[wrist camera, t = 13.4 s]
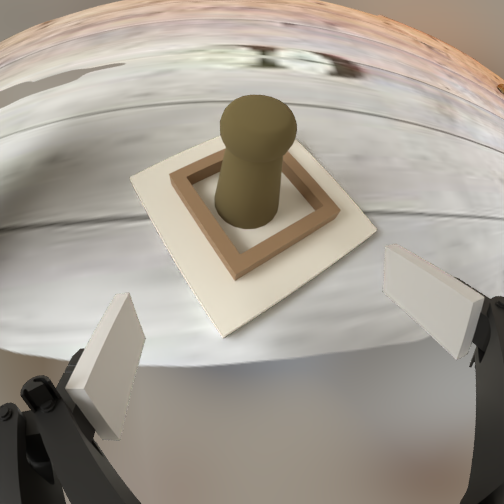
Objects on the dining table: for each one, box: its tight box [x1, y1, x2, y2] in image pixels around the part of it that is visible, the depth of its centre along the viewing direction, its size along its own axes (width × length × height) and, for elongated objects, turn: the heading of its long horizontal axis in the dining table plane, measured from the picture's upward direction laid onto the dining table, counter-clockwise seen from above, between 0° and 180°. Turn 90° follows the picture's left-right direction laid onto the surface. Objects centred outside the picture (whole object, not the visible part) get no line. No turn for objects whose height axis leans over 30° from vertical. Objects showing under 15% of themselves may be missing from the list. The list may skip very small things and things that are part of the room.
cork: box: [214, 95, 297, 229], centre depth 22 cm, size 6×6×11 cm
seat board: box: [129, 136, 377, 338], centre depth 26 cm, size 18×18×4 cm
